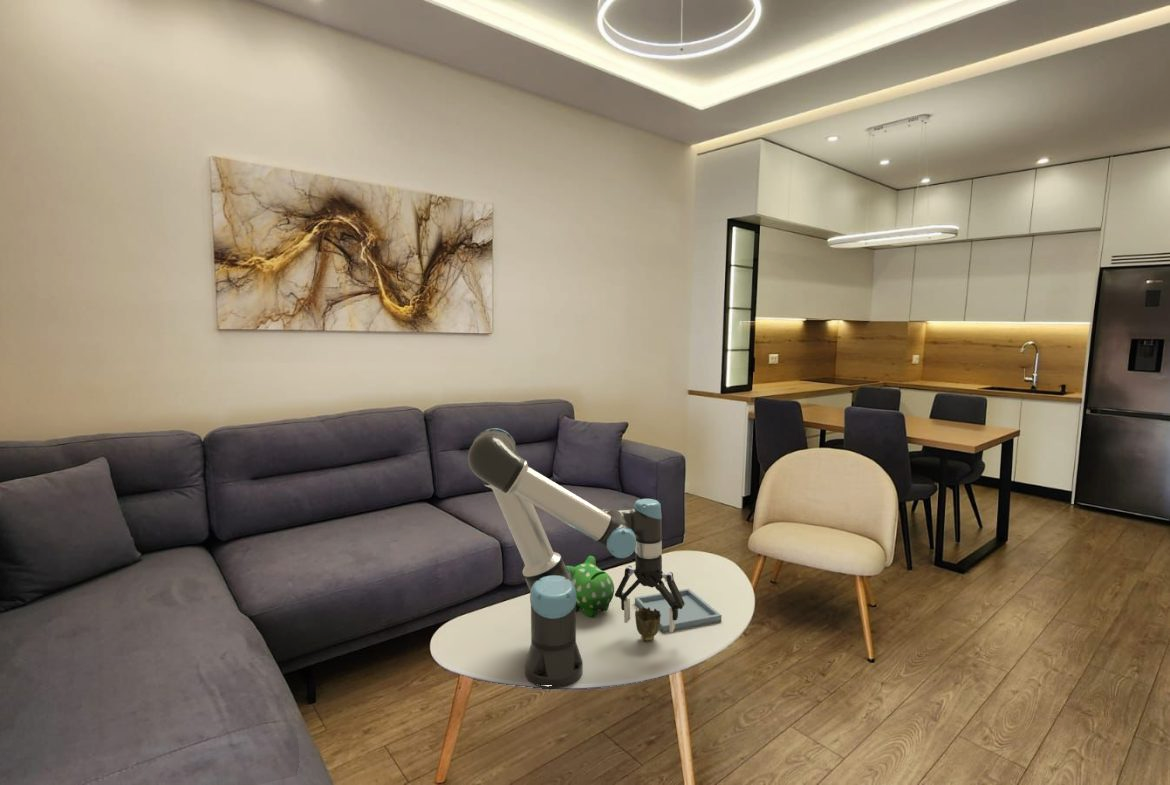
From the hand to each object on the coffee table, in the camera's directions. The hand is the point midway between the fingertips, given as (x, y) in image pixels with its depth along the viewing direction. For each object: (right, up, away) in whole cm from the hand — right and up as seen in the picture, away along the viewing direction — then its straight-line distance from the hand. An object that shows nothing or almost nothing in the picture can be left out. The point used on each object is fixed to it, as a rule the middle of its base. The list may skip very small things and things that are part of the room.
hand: (649, 625), depth 166 cm
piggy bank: (-18, -3, +20) cm, 27 cm away
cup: (0, -4, 0) cm, 4 cm away
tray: (+11, -3, +17) cm, 20 cm away
